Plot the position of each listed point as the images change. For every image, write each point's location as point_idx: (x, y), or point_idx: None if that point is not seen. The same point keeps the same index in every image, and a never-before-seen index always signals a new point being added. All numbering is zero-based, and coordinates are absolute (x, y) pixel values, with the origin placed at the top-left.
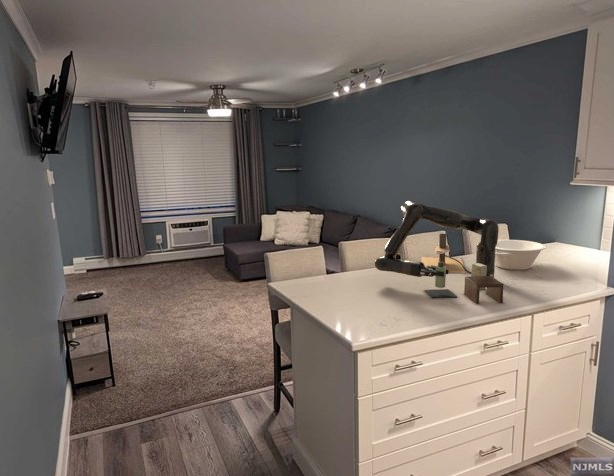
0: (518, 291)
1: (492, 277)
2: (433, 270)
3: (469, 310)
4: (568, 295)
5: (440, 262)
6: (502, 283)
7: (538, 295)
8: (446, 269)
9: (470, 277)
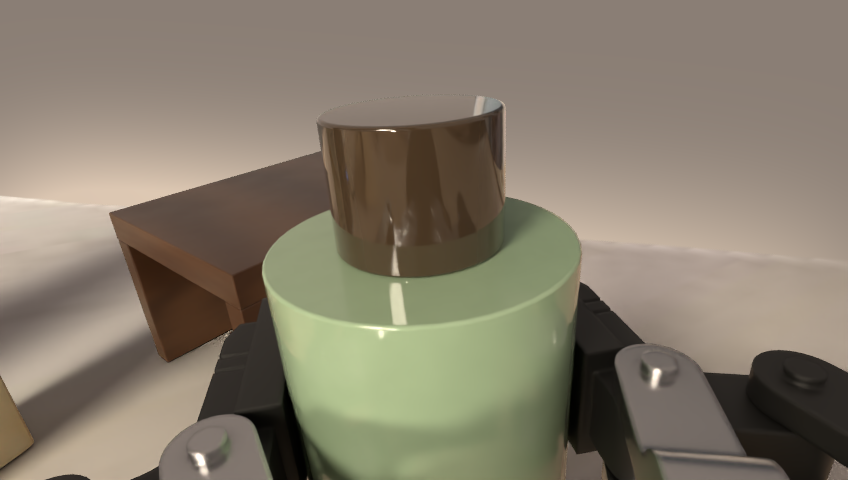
0: (38, 294)
1: (169, 195)
2: (666, 412)
3: (609, 288)
4: (80, 210)
5: (444, 105)
6: (317, 152)
7: (111, 243)
8: (264, 314)
9: (248, 244)
